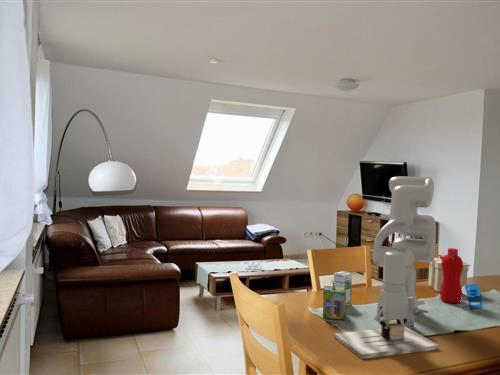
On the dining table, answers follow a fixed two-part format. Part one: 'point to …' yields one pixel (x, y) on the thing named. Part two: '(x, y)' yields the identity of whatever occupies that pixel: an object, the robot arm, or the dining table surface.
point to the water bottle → (451, 277)
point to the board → (384, 343)
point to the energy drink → (410, 312)
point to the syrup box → (344, 283)
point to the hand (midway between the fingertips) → (392, 337)
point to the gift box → (437, 274)
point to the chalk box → (334, 302)
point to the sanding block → (395, 331)
